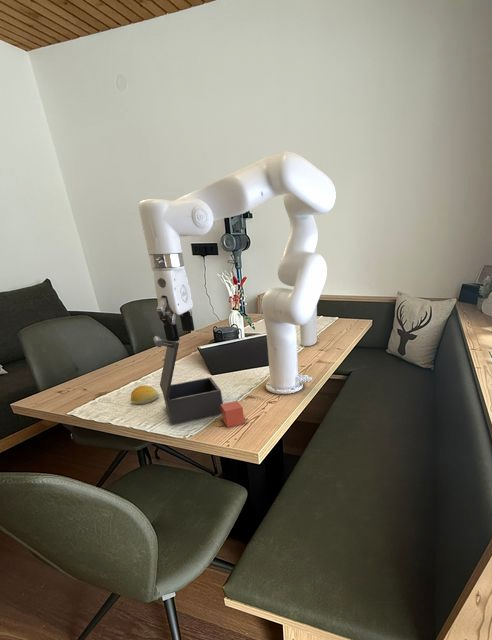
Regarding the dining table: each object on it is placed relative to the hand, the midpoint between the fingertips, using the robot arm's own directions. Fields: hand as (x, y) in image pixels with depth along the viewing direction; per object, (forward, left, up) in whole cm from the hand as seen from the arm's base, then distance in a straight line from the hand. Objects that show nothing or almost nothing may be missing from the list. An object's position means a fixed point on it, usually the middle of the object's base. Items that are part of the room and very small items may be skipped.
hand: (181, 335), depth 92 cm
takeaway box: (+2, -5, -24) cm, 25 cm away
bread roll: (+21, -15, -24) cm, 35 cm away
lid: (+6, -3, -9) cm, 11 cm away
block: (-11, +3, -24) cm, 27 cm away
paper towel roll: (-35, -71, -24) cm, 83 cm away
